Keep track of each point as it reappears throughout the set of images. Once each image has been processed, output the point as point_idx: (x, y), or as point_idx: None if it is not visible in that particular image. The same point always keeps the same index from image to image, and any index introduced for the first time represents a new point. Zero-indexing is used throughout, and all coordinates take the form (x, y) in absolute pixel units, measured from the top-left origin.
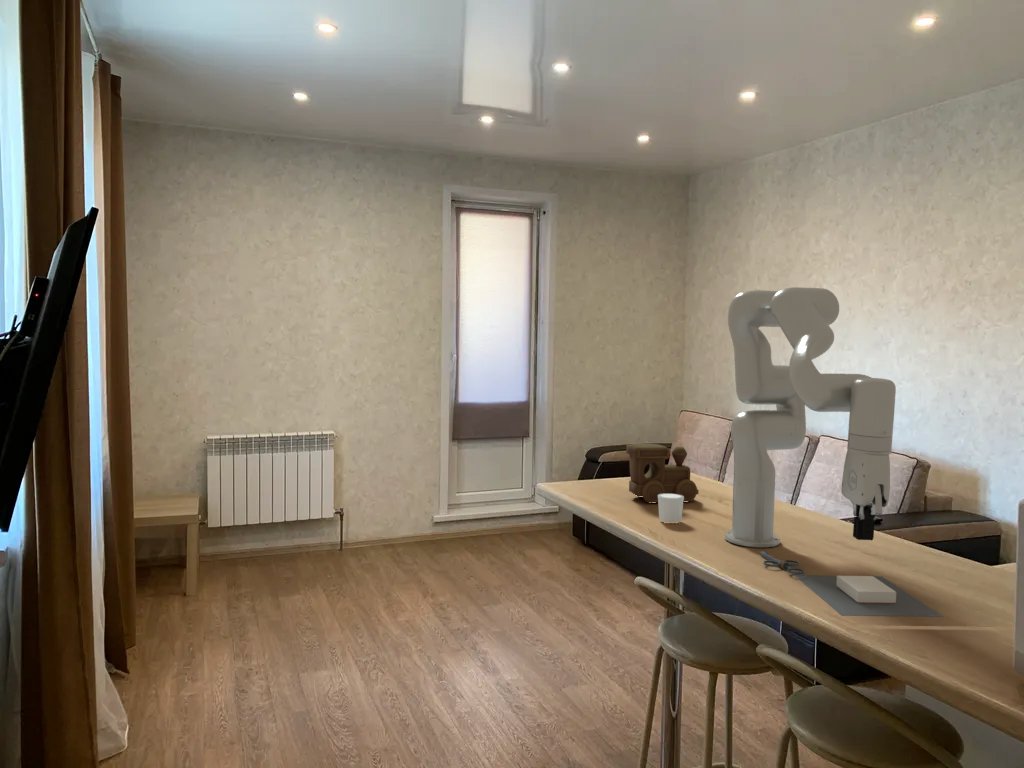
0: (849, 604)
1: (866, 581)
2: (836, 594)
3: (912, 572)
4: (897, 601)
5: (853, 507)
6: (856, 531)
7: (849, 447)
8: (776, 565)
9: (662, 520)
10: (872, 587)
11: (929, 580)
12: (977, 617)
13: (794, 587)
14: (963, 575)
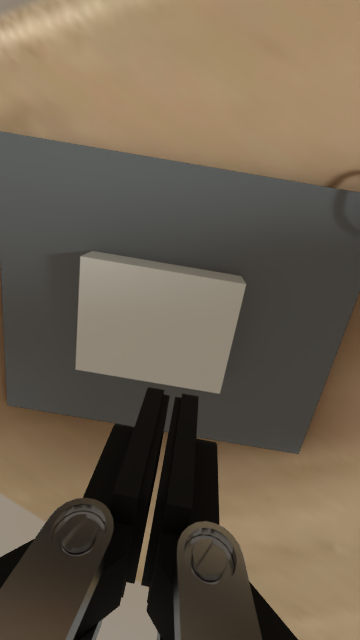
0: (88, 220)
1: (174, 345)
2: (177, 233)
3: (317, 535)
4: None
5: (252, 631)
6: (145, 414)
7: None
8: None
9: None
10: (118, 327)
11: (257, 531)
12: (28, 469)
13: (292, 134)
14: (270, 601)
